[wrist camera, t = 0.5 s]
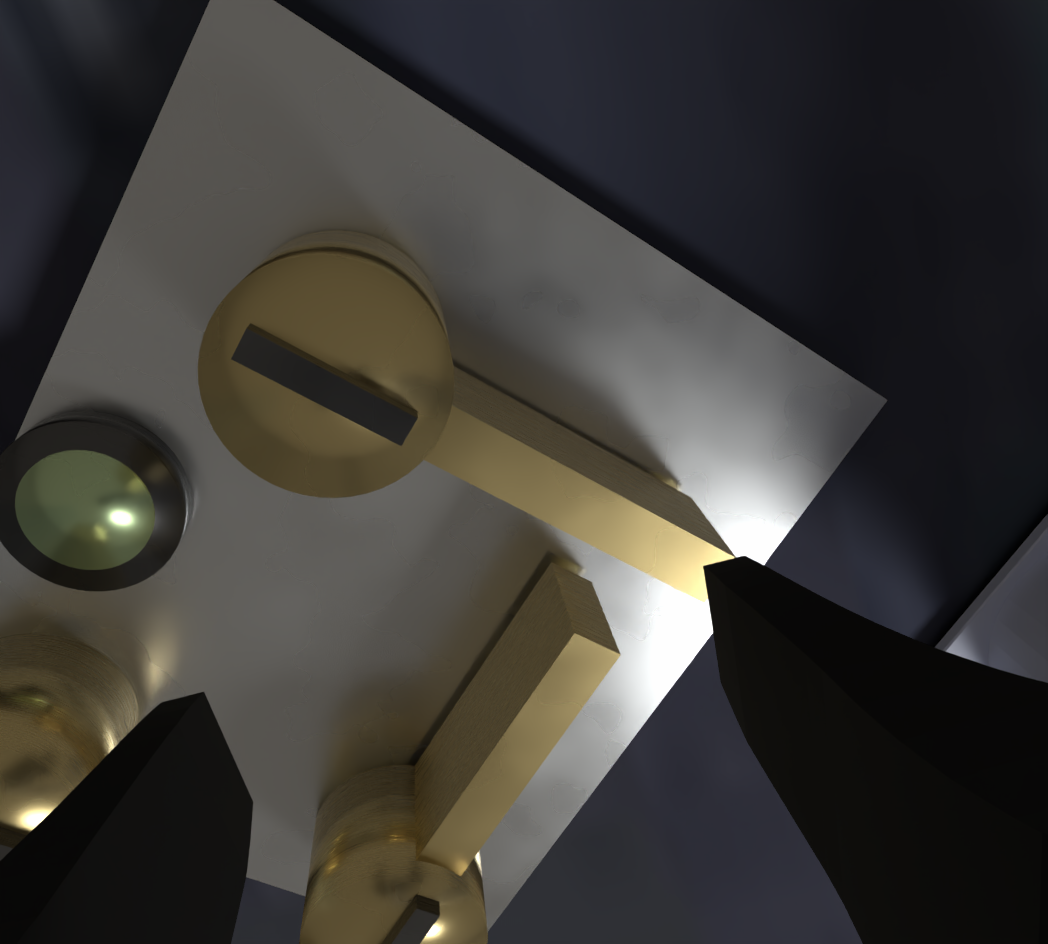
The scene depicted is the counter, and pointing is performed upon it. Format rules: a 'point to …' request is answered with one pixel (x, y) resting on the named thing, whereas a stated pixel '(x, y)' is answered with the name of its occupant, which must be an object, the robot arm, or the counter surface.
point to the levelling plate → (380, 516)
